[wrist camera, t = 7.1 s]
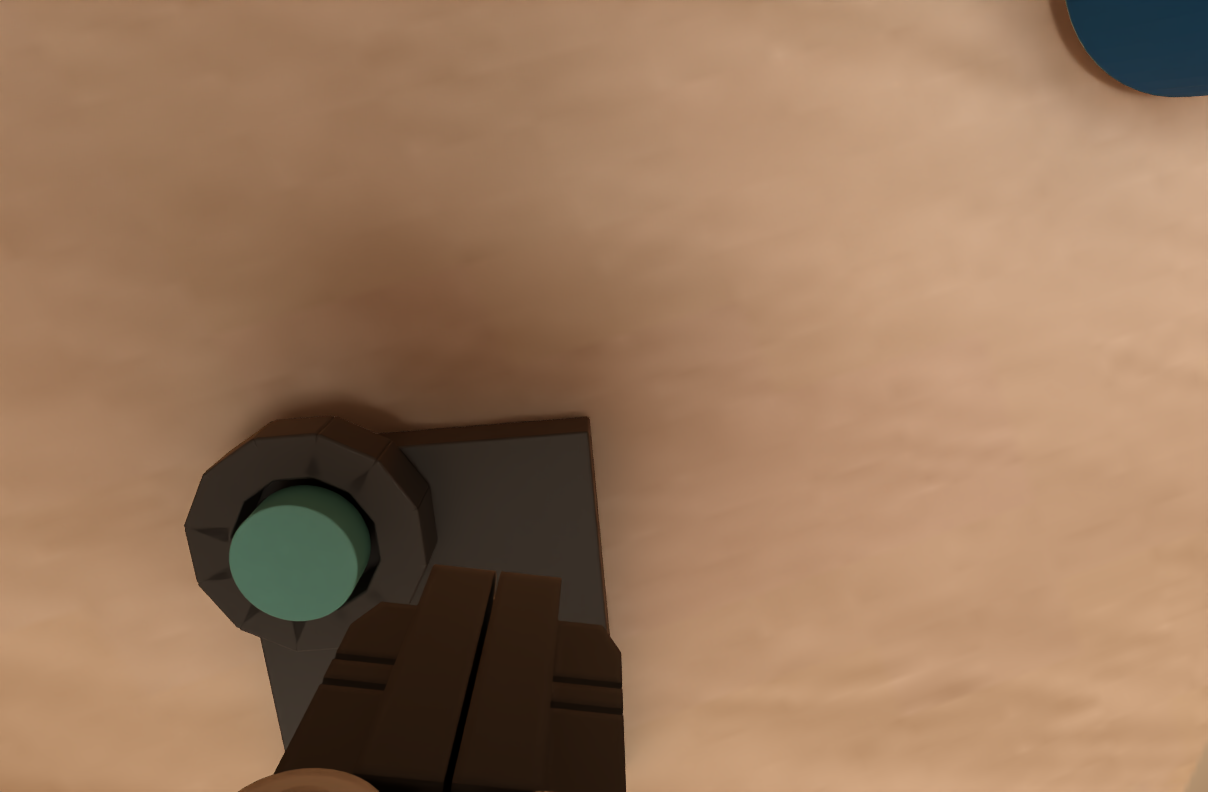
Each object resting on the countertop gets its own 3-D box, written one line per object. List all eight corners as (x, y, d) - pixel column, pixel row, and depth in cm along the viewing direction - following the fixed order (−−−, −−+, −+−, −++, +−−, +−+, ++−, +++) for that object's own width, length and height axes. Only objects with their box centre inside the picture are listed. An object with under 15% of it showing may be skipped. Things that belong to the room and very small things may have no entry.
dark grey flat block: (214, 410, 25) (163, 445, 22) (586, 380, 25) (584, 412, 22) (297, 793, 29) (263, 867, 26) (622, 770, 28) (624, 842, 26)
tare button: (238, 489, 23) (216, 510, 22) (360, 479, 23) (346, 500, 21) (261, 600, 24) (242, 626, 22) (380, 590, 24) (367, 617, 22)
